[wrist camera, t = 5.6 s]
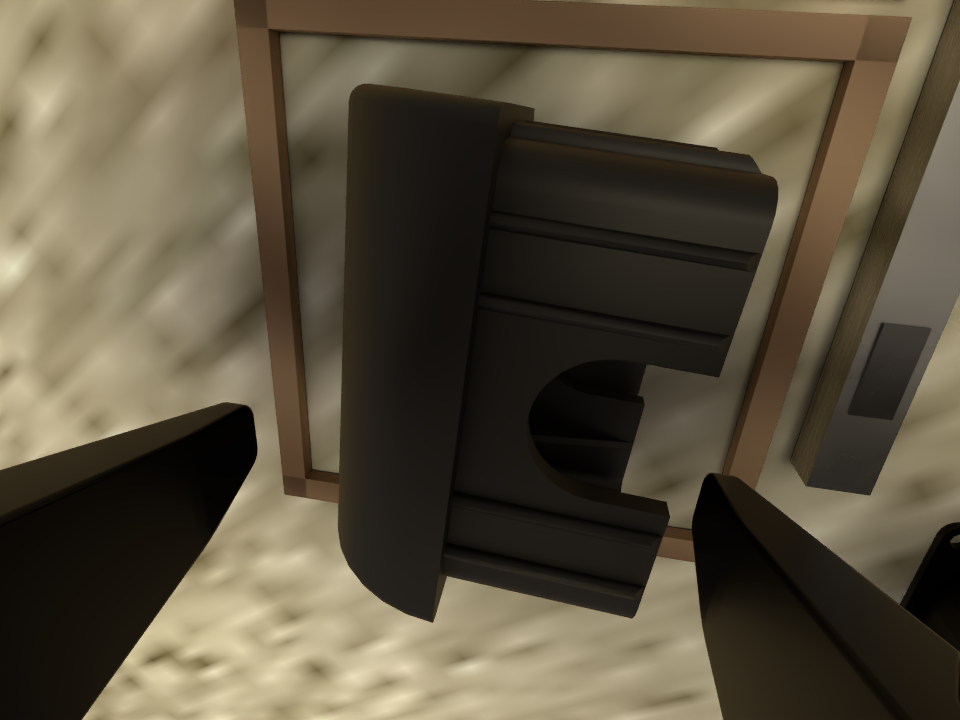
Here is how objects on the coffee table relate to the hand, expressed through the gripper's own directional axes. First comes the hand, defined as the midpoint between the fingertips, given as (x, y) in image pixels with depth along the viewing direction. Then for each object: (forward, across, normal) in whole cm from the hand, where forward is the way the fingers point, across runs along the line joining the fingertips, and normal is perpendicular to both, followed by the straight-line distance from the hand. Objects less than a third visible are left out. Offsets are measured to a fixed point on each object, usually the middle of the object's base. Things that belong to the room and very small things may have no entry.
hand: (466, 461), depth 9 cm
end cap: (+8, 0, 0) cm, 8 cm away
